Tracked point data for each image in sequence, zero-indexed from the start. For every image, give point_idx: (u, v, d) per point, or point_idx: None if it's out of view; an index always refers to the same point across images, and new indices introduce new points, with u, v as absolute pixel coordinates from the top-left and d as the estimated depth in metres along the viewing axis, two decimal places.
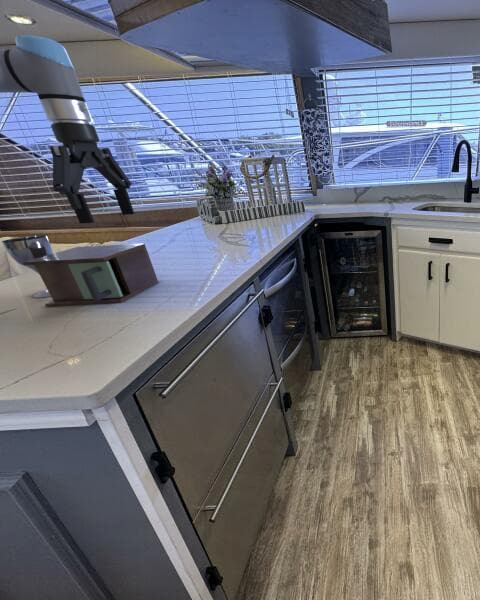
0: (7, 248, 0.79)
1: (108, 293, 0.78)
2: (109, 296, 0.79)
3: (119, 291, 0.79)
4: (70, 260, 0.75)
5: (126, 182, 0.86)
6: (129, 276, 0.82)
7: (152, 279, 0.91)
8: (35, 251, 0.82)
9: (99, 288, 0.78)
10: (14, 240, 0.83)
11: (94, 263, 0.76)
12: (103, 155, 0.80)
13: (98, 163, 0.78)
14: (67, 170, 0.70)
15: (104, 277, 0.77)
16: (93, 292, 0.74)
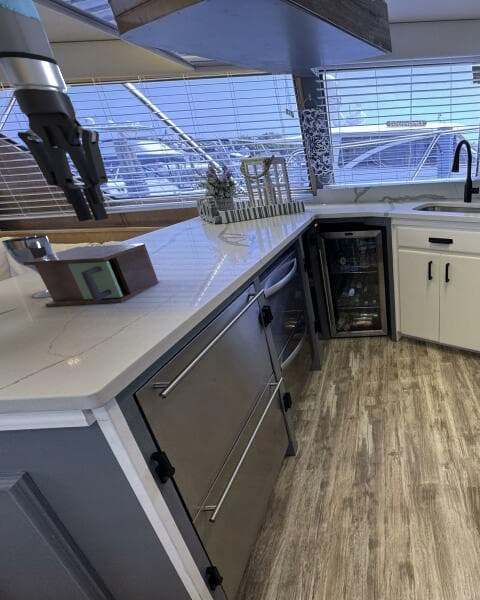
0: (7, 248, 0.79)
1: (108, 293, 0.78)
2: (109, 296, 0.79)
3: (119, 291, 0.79)
4: (70, 260, 0.75)
5: None
6: (129, 276, 0.82)
7: (152, 279, 0.91)
8: (35, 251, 0.82)
9: (99, 288, 0.78)
10: (14, 240, 0.83)
11: (94, 263, 0.76)
12: None
13: None
14: None
15: (104, 277, 0.77)
16: (93, 292, 0.74)
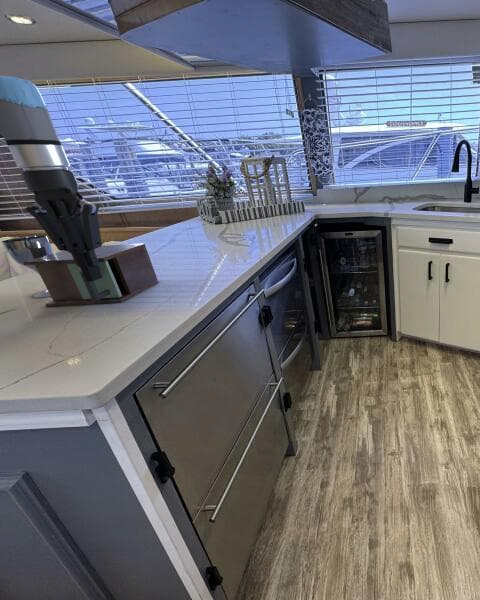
0: (7, 248, 0.79)
1: (107, 293, 0.78)
2: (108, 296, 0.79)
3: (118, 291, 0.79)
4: (70, 260, 0.75)
5: None
6: (129, 276, 0.82)
7: (152, 279, 0.91)
8: (35, 251, 0.82)
9: (98, 288, 0.78)
10: (14, 240, 0.83)
11: None
12: (45, 209, 0.68)
13: None
14: None
15: (103, 277, 0.77)
16: (92, 292, 0.74)
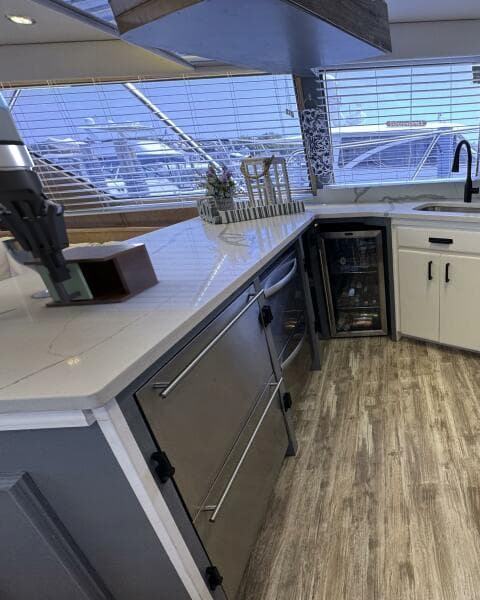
0: (7, 248, 0.79)
1: (77, 295, 0.78)
2: (79, 298, 0.79)
3: (89, 293, 0.79)
4: (70, 260, 0.75)
5: None
6: (129, 276, 0.82)
7: (152, 279, 0.91)
8: None
9: (68, 290, 0.78)
10: (14, 240, 0.83)
11: None
12: None
13: None
14: None
15: (73, 279, 0.77)
16: (61, 294, 0.74)
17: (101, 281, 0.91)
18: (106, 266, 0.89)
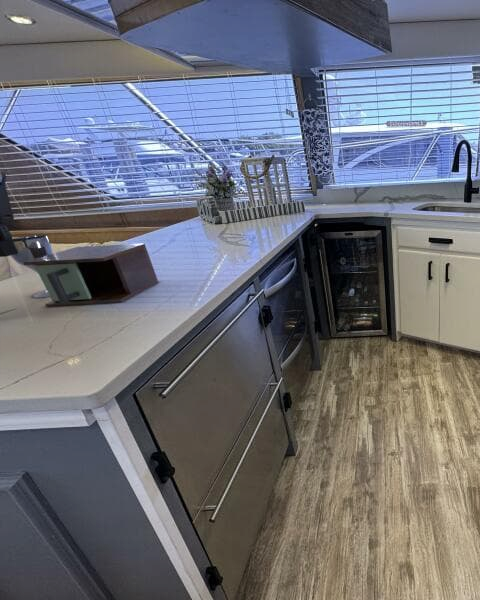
0: None
1: (76, 295, 0.78)
2: (77, 298, 0.79)
3: (88, 293, 0.79)
4: (70, 260, 0.75)
5: None
6: (129, 276, 0.82)
7: (152, 279, 0.91)
8: (35, 251, 0.81)
9: (67, 290, 0.78)
10: (14, 240, 0.83)
11: (61, 265, 0.76)
12: None
13: None
14: None
15: (72, 279, 0.77)
16: (59, 294, 0.74)
17: (101, 281, 0.91)
18: (106, 266, 0.89)
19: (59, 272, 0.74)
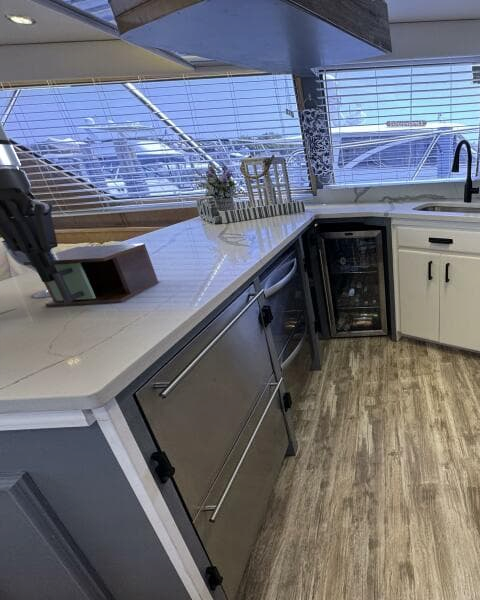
0: (7, 248, 0.79)
1: (80, 295, 0.78)
2: (82, 298, 0.79)
3: (92, 293, 0.79)
4: (70, 260, 0.75)
5: None
6: (129, 276, 0.82)
7: (152, 279, 0.91)
8: None
9: (71, 290, 0.78)
10: None
11: (65, 265, 0.76)
12: None
13: None
14: None
15: (76, 279, 0.77)
16: (64, 294, 0.74)
17: (101, 281, 0.91)
18: (106, 266, 0.89)
19: (63, 272, 0.74)
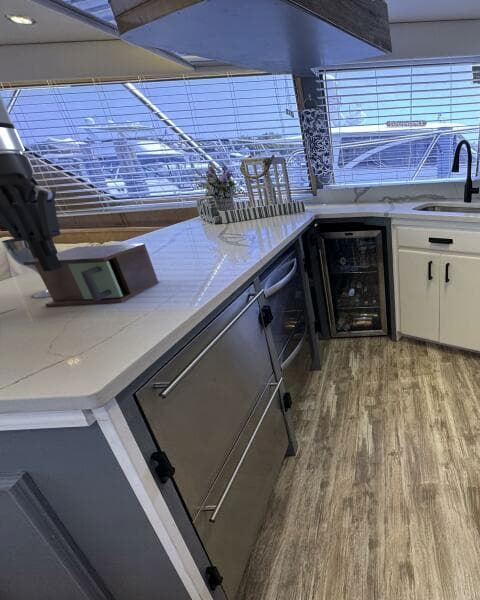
0: (7, 248, 0.79)
1: (108, 293, 0.78)
2: (109, 296, 0.79)
3: (119, 291, 0.79)
4: (70, 260, 0.75)
5: None
6: (129, 276, 0.82)
7: (152, 279, 0.91)
8: None
9: (99, 288, 0.78)
10: (14, 240, 0.83)
11: (94, 263, 0.76)
12: None
13: None
14: None
15: (104, 277, 0.77)
16: (93, 292, 0.74)
17: None
18: None
19: (93, 270, 0.74)
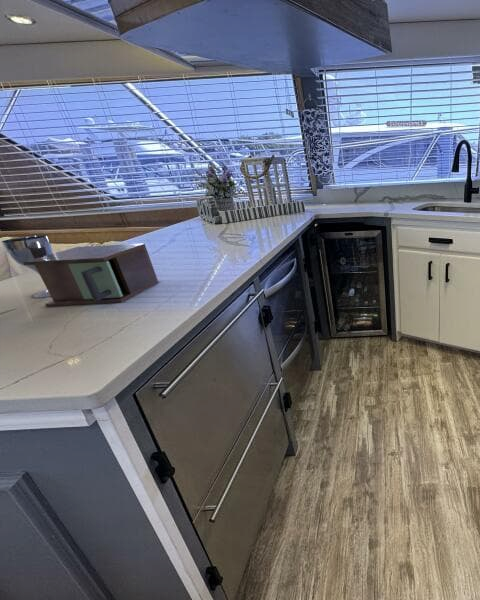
0: (7, 248, 0.79)
1: (108, 293, 0.78)
2: (109, 296, 0.79)
3: (119, 291, 0.79)
4: (70, 260, 0.75)
5: None
6: (129, 276, 0.82)
7: (152, 279, 0.91)
8: (35, 251, 0.82)
9: (99, 288, 0.78)
10: (14, 240, 0.83)
11: (94, 263, 0.76)
12: None
13: None
14: None
15: (104, 277, 0.77)
16: (93, 292, 0.74)
17: None
18: None
19: (93, 270, 0.74)
